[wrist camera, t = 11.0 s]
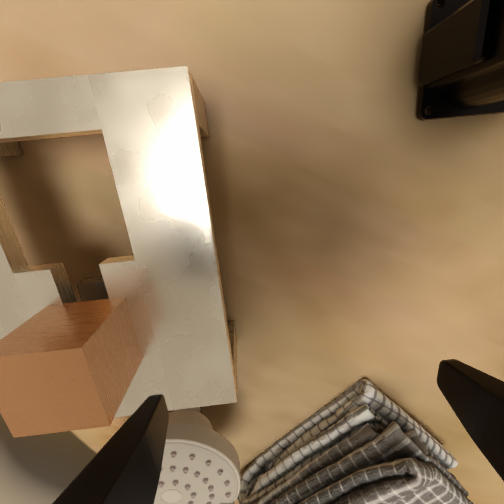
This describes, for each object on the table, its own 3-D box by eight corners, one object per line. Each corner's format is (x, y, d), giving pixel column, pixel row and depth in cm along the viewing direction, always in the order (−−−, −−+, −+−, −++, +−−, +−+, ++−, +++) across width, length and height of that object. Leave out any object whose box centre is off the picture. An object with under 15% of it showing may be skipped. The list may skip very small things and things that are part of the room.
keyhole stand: (204, 102, 16) (187, 65, 10) (236, 341, 22) (236, 402, 16) (-23, 123, 16) (-170, 97, 10) (70, 360, 21) (9, 430, 16)
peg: (147, 271, 17) (81, 347, 10) (160, 323, 18) (109, 425, 11) (85, 278, 17) (-29, 360, 9) (102, 330, 18) (13, 437, 11)
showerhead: (216, 560, 19) (78, 535, 17) (221, 456, 26) (123, 430, 24) (272, 479, 17) (118, 440, 15) (261, 388, 23) (156, 354, 22)
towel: (230, 469, 27) (228, 582, 20) (369, 368, 24) (429, 458, 16) (318, 525, 31) (344, 638, 24) (448, 445, 28) (525, 547, 20)
